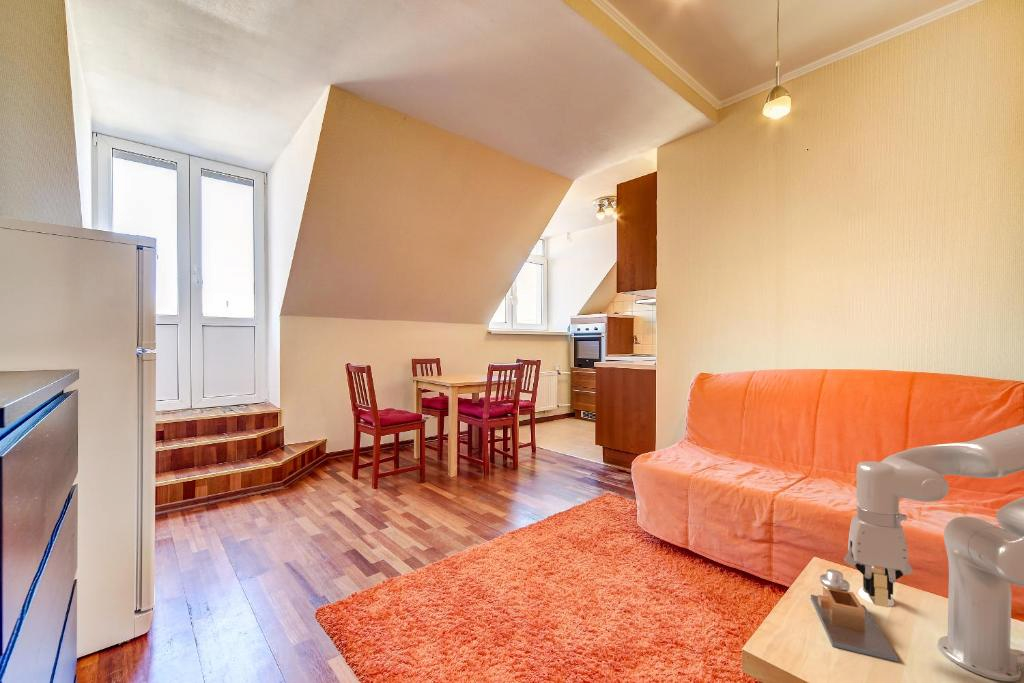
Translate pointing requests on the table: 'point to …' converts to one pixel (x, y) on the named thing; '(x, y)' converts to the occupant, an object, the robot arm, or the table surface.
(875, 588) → the pale yellow block
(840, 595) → the tray with wooden box
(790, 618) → the table surface
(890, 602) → the hook
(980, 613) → the robot arm
